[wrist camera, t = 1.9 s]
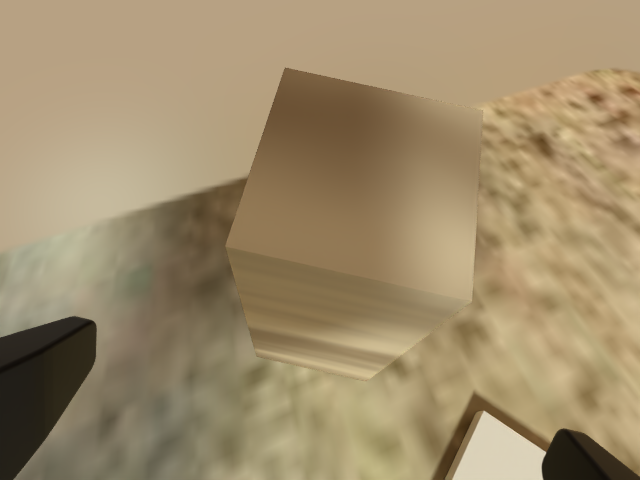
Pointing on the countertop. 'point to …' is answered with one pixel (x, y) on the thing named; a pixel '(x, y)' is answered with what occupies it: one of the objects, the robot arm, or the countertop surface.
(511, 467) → the tile
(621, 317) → the countertop surface
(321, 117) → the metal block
